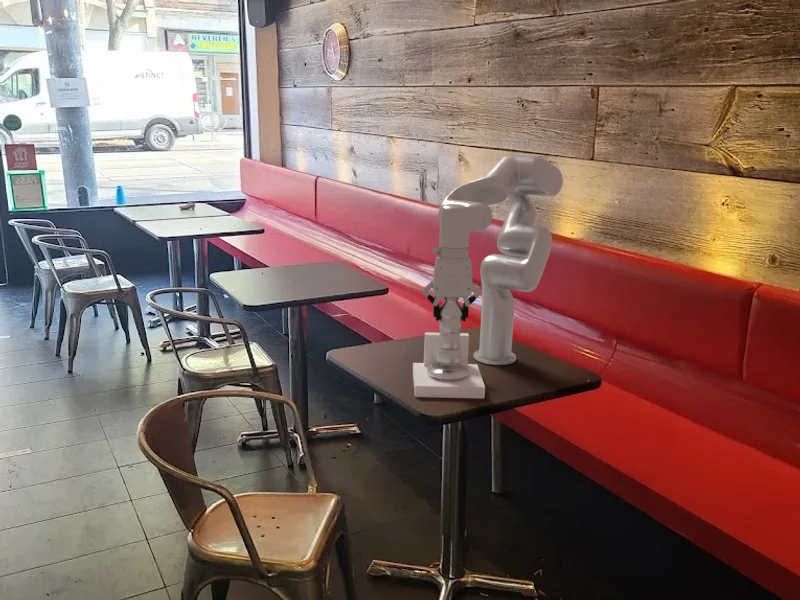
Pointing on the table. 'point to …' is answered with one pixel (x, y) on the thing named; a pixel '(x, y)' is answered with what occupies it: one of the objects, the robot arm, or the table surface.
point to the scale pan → (447, 372)
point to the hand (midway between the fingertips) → (450, 319)
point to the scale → (446, 388)
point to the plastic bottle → (449, 332)
